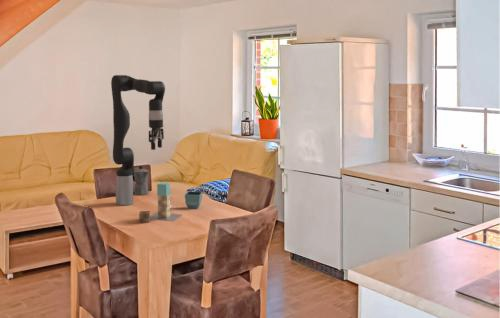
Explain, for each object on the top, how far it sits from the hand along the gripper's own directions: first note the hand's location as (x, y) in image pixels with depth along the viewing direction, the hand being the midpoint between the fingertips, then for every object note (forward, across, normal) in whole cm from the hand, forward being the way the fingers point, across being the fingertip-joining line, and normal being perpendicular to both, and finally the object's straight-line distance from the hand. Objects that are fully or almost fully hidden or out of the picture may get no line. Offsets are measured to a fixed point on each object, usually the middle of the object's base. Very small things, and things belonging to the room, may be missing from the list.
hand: (156, 148), depth 297 cm
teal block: (+23, +10, +8) cm, 26 cm away
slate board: (+36, +10, +8) cm, 38 cm away
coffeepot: (+36, -44, -32) cm, 65 cm away
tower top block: (+29, +10, +8) cm, 32 cm away
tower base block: (+35, +10, +8) cm, 37 cm away
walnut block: (+36, +21, +2) cm, 42 cm away
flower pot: (+36, -16, +15) cm, 42 cm away
